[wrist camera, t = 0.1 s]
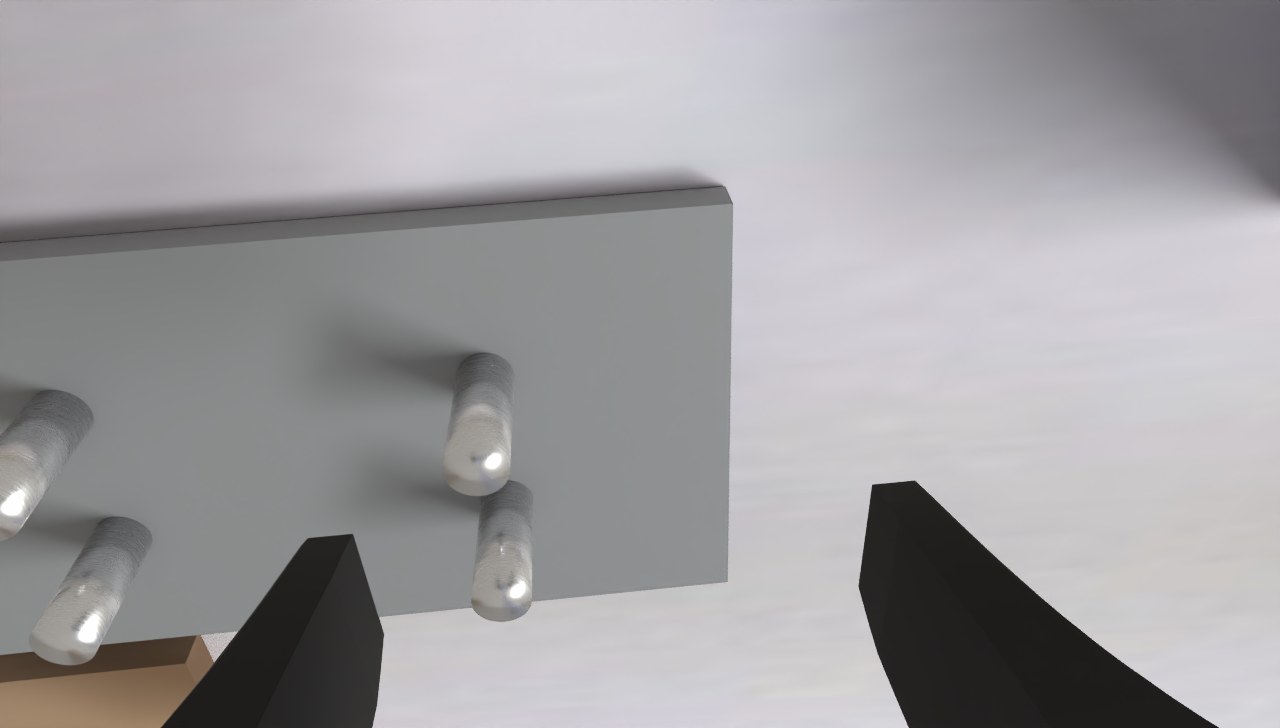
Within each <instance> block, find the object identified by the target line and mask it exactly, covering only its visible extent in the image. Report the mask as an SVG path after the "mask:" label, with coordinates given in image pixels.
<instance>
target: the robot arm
mask: <svg viewBox="0 0 1280 728" xmlns="http://www.w3.org/2000/svg"><path fill="white" fill-rule="evenodd" d="M859 590H860V593H861V597H862V601H863V604H864V608H865V612H866V615H867V619H868V622H869V626H870V629H871V633H872V636H873V639H874V643H875V646H876V649H877V652H878V655H879V658H880V660H881V663H882V665H883V667H884V670H885V672H886V675H887V677H888V679H889V682H890V684H891V687H892V689H893V691H894V694H895V696H896V699H897V701H898V703H899V706H900V708H901V710H902V713H903V715H904V717H905V720H906V722H907V724H908V727H909V728H1219V727H1217V726H1215V725H1214V724H1212V723H1210V722H1209V721H1207V720H1206V719H1204V718H1202V717H1201V716H1199V715H1198V714H1196V713H1195V712H1193V711H1192V710H1190V709H1189V708H1187V707H1186V706H1184V705H1183V704H1181V703H1180V702H1178V701H1177V700H1175V699H1174V698H1172V697H1171V696H1169V695H1168V694H1166V693H1165V692H1164V691H1162V690H1161V689H1159V688H1158V687H1156V686H1155V685H1154V684H1152V683H1151V682H1149V681H1148V680H1146V679H1145V678H1144V677H1142V676H1141V675H1139V674H1138V673H1137V672H1135V671H1134V670H1132V669H1131V668H1129V667H1128V666H1127V665H1125V664H1124V663H1122V662H1121V661H1120V660H1118V659H1117V658H1116V657H1114V656H1113V655H1112V654H1110V653H1109V652H1108V651H1106V650H1105V649H1104V648H1102V647H1101V646H1100V645H1098V644H1097V643H1096V642H1095V641H1093V640H1092V639H1091V638H1090V637H1088V636H1087V635H1086V634H1085V633H1083V632H1082V631H1081V630H1080V629H1078V628H1077V627H1076V626H1075V625H1073V624H1072V623H1071V622H1070V621H1068V620H1067V619H1066V618H1065V617H1063V616H1062V615H1061V614H1060V613H1059V612H1057V611H1056V610H1055V609H1054V608H1053V607H1052V606H1050V605H1049V604H1048V603H1047V602H1046V601H1044V600H1043V599H1042V598H1041V597H1040V596H1039V595H1038V594H1036V593H1035V592H1034V591H1033V590H1032V589H1031V588H1030V587H1028V586H1027V585H1026V584H1025V583H1024V582H1023V581H1022V580H1021V579H1019V578H1018V577H1017V576H1016V575H1015V574H1014V573H1013V572H1012V571H1010V570H1009V569H1008V568H1007V567H1006V566H1005V565H1004V564H1003V563H1002V562H1000V561H999V560H998V559H997V558H996V557H995V556H994V555H993V554H992V553H991V552H990V551H988V550H987V549H986V548H985V547H984V546H983V545H982V544H981V543H980V542H979V541H978V540H977V539H976V538H975V537H974V536H973V535H972V534H970V533H969V532H968V531H967V530H966V529H965V528H964V527H963V526H962V525H961V524H960V523H959V522H958V521H957V520H956V519H955V518H954V517H953V516H952V515H951V514H950V513H949V512H947V511H946V510H945V509H944V508H943V507H942V506H941V505H940V504H939V503H938V502H937V501H936V500H935V499H934V498H933V497H932V496H931V495H930V494H929V493H928V492H927V491H926V490H924V489H923V488H922V487H921V486H920V485H919V484H918V483H917V482H916V481H907V482H896V483H886V484H875V485H872V491H871V498H870V505H869V513H868V520H867V528H866V535H865V542H864V550H863V557H862V565H861V572H860V579H859ZM383 638H384V633H383V630H382V626H381V623H380V620H379V617H378V613H377V610H376V607H375V604H374V600H373V597H372V594H371V591H370V587H369V584H368V581H367V578H366V574H365V571H364V568H363V565H362V561H361V558H360V555H359V552H358V548H357V545H356V542H355V539H354V535H353V534H345V535H334V536H324V537H313V538H307V540H306V541H305V542H304V543H303V544H302V545H301V546H300V548H299V549H298V551H297V552H296V553H295V555H294V556H293V557H292V559H291V560H290V562H289V563H288V564H287V566H286V567H285V569H284V570H283V571H282V573H281V574H280V576H279V577H278V578H277V580H276V581H275V583H274V584H273V585H272V587H271V588H270V590H269V591H268V592H267V594H266V595H265V596H264V598H263V599H262V601H261V602H260V603H259V605H258V606H257V607H256V609H255V610H254V611H253V613H252V614H251V615H250V617H249V618H248V620H247V621H246V622H245V624H244V625H243V626H242V628H241V629H240V630H239V631H238V633H237V634H236V635H235V637H234V638H233V639H232V641H231V642H230V643H229V644H228V646H227V647H226V648H225V650H224V651H223V652H222V653H221V655H220V656H219V657H218V659H217V660H216V661H215V663H214V664H213V665H212V666H211V668H210V669H209V670H208V672H207V673H206V674H205V675H204V677H203V678H202V679H201V680H200V682H199V683H198V684H197V685H196V686H195V688H194V689H193V690H192V691H191V692H190V693H189V695H188V696H187V697H186V698H185V699H184V701H183V702H182V703H181V704H180V705H179V706H178V708H177V709H176V710H175V711H174V712H173V714H172V715H171V716H170V717H169V718H168V720H167V721H166V722H165V723H164V724H163V725H162V727H161V728H372V726H373V721H374V716H375V712H376V707H377V699H378V690H379V681H380V672H381V661H382V649H383Z"/></svg>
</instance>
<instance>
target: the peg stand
mask: <svg viewBox="0 0 1280 728" xmlns="http://www.w3.org/2000/svg"><path fill="white" fill-rule="evenodd" d="M732 234H733V203H732V200H731V198H730V196H729V194H728V192H727V189H726V187H725V186H724V187H712V188H699V189H686V190H673V191H660V192H647V193H634V194H622V195H609V196H596V197H583V198H570V199H557V200H544V201H532V202H519V203H506V204H493V205H480V206H467V207H455V208H442V209H429V210H416V211H403V212H390V213H377V214H365V215H352V216H339V217H326V218H313V219H300V220H287V221H275V222H262V223H249V224H236V225H223V226H210V227H197V228H185V229H172V230H159V231H146V232H133V233H120V234H107V235H95V236H82V237H69V238H56V239H43V240H30V241H17V242H5V243H0V655H5V654H15V653H25V652H35V653H36V654H37V655H38V656H40V657H41V658H43V659H45V660H47V661H49V662H52V663H56V664H61V665H79V664H83V663H86V662H88V661H89V660H91V659H92V658H93V657H94V656H95V654H96V652H97V650H98V648H99V646H100V645H104V644H114V643H124V642H134V641H144V640H154V639H164V638H174V637H184V636H194V635H204V634H214V633H224V632H234V631H239V630H240V629H241V628H242V626H243V625H244V624H245V622H246V621H247V620H248V618H249V617H250V615H251V614H252V613H253V611H254V610H255V609H256V607H257V606H258V605H259V603H260V602H261V601H262V599H263V598H264V596H265V595H266V594H267V592H268V591H269V590H270V588H271V587H272V585H273V584H274V583H275V581H276V580H277V578H278V577H279V576H280V574H281V573H282V571H283V570H284V569H285V567H286V566H287V564H288V563H289V562H290V560H291V559H292V557H293V556H294V555H295V553H296V552H297V551H298V549H299V548H300V546H301V545H302V544H303V543H304V542H305V541H306V540H307V538H313V537H324V536H334V535H345V534H353V535H354V539H355V542H356V545H357V548H358V552H359V555H360V558H361V561H362V565H363V568H364V571H365V574H366V578H367V581H368V584H369V587H370V591H371V594H372V597H373V600H374V604H375V607H376V610H377V613H378V617H383V616H393V615H403V614H413V613H423V612H433V611H443V610H453V609H463V608H473V609H474V611H475V612H476V613H477V614H478V615H480V616H481V617H483V618H485V619H488V620H491V621H498V622H503V621H510V620H514V619H517V618H519V617H521V616H522V615H524V614H525V613H526V612H527V611H528V610H529V608H530V606H531V602H532V601H542V600H552V599H562V598H572V597H582V596H592V595H602V594H612V593H622V592H632V591H642V590H652V589H662V588H672V587H682V586H692V585H701V584H711V583H721V582H728V514H729V444H730V374H731V304H732Z"/></svg>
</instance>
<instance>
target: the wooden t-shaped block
mask: <svg viewBox="0 0 1280 728" xmlns="http://www.w3.org/2000/svg"><path fill="white" fill-rule="evenodd" d="M213 664H214V662H213V660H212V657H211V655H210V653H209V651H208V649H207V647H206V645H205V643H204V641H203V639H202V637H201V635H194V636H184V637H174V638H164V639H154V640H144V641H134V642H124V643H114V644H104V645H100V646H99V648H98V650H97V652H96V654H95V656H94V657H93V658H92V659H91V660H89V661H88V662H86V663H83V664H79V665H61V664H56V663H52V662H49V661H47V660H45V659H43V658H41V657H40V656H38V655H37V654H36V653H35V652H25V653H15V654H5V655H0V728H161V727H162V725H163V724H164V723H165V722H166V721H167V720H168V718H169V717H170V716H171V715H172V714H173V712H174V711H175V710H176V709H177V708H178V706H179V705H180V704H181V703H182V702H183V701H184V699H185V698H186V697H187V696H188V695H189V693H190V692H191V691H192V690H193V689H194V688H195V686H196V685H197V684H198V683H199V682H200V680H201V679H202V678H203V677H204V675H205V674H206V673H207V672H208V670H209V669H210V668H211V666H212V665H213Z"/></svg>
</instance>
